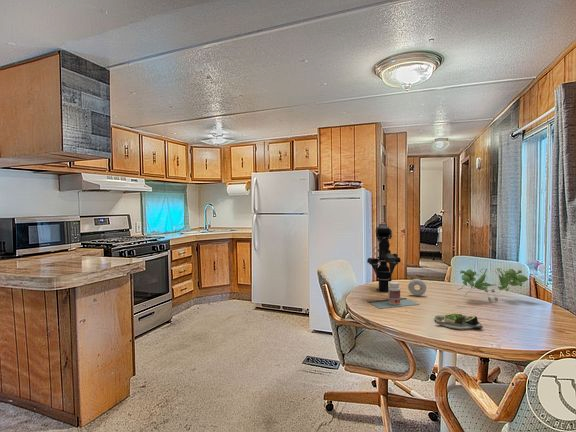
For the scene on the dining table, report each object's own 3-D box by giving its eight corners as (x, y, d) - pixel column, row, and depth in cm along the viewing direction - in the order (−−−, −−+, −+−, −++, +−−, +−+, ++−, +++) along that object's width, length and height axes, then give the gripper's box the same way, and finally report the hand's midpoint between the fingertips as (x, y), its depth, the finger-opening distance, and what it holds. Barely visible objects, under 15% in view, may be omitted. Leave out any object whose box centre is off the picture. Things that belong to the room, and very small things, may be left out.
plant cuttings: (453, 309, 187) (468, 294, 169) (445, 281, 197) (459, 264, 179) (515, 309, 185) (538, 294, 167) (504, 281, 195) (524, 264, 177)
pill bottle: (402, 304, 174) (402, 283, 174) (392, 305, 172) (392, 284, 172) (396, 301, 180) (396, 280, 180) (386, 302, 178) (386, 281, 178)
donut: (426, 295, 192) (426, 278, 191) (426, 297, 188) (426, 280, 188) (408, 294, 195) (408, 277, 195) (408, 295, 192) (408, 279, 192)
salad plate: (445, 333, 135) (445, 322, 135) (423, 319, 153) (423, 309, 153) (489, 331, 137) (489, 320, 137) (462, 317, 155) (462, 307, 154)
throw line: (367, 302, 180) (367, 301, 180) (405, 298, 186) (405, 297, 186) (368, 302, 179) (368, 302, 179) (406, 299, 185) (406, 298, 185)
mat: (369, 303, 178) (369, 302, 178) (408, 299, 184) (408, 299, 184) (379, 308, 168) (379, 308, 168) (419, 304, 174) (419, 304, 174)
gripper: (376, 250, 179) (376, 278, 179) (406, 249, 184) (406, 276, 184) (366, 248, 189) (366, 275, 190) (395, 247, 194) (395, 273, 195)
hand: (384, 275), depth 189 cm, fingers open, 9 cm apart
